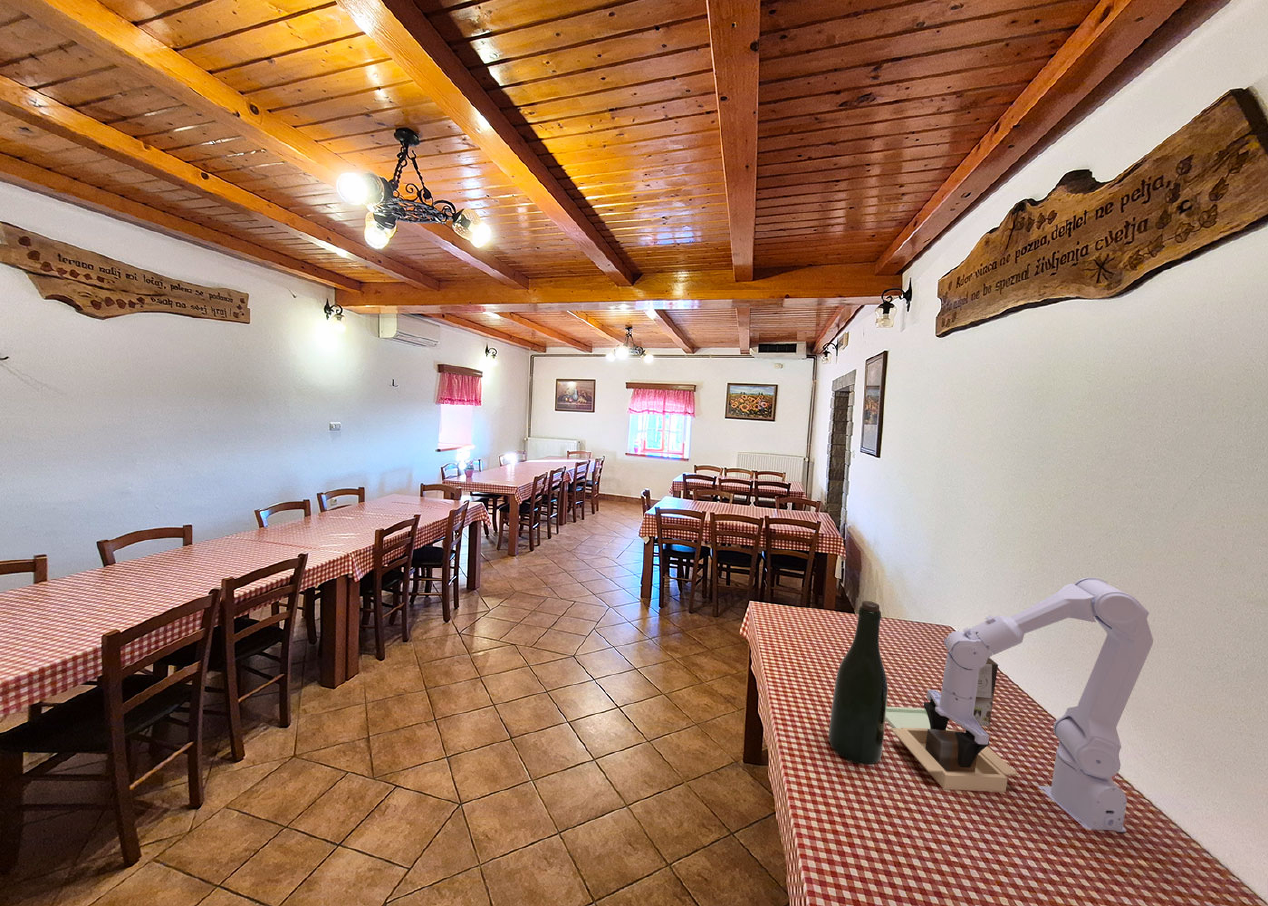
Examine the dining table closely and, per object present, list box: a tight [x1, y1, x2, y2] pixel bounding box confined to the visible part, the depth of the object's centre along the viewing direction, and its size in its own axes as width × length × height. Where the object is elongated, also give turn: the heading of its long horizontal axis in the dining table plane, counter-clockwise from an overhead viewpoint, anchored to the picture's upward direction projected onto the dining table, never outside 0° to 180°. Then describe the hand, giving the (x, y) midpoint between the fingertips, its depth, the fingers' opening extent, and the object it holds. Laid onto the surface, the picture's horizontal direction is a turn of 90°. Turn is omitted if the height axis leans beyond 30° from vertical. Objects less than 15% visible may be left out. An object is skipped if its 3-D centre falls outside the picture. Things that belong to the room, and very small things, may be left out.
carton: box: [890, 727, 1019, 793], centre depth 94 cm, size 14×19×4 cm
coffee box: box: [973, 657, 999, 727], centre depth 112 cm, size 9×6×16 cm
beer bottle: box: [828, 600, 889, 765], centre depth 96 cm, size 10×10×33 cm
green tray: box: [885, 706, 950, 730], centre depth 107 cm, size 10×13×1 cm
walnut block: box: [925, 729, 977, 772], centre depth 94 cm, size 4×8×6 cm, turn 92°
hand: (950, 752), depth 94 cm, fingers open, 7 cm apart
